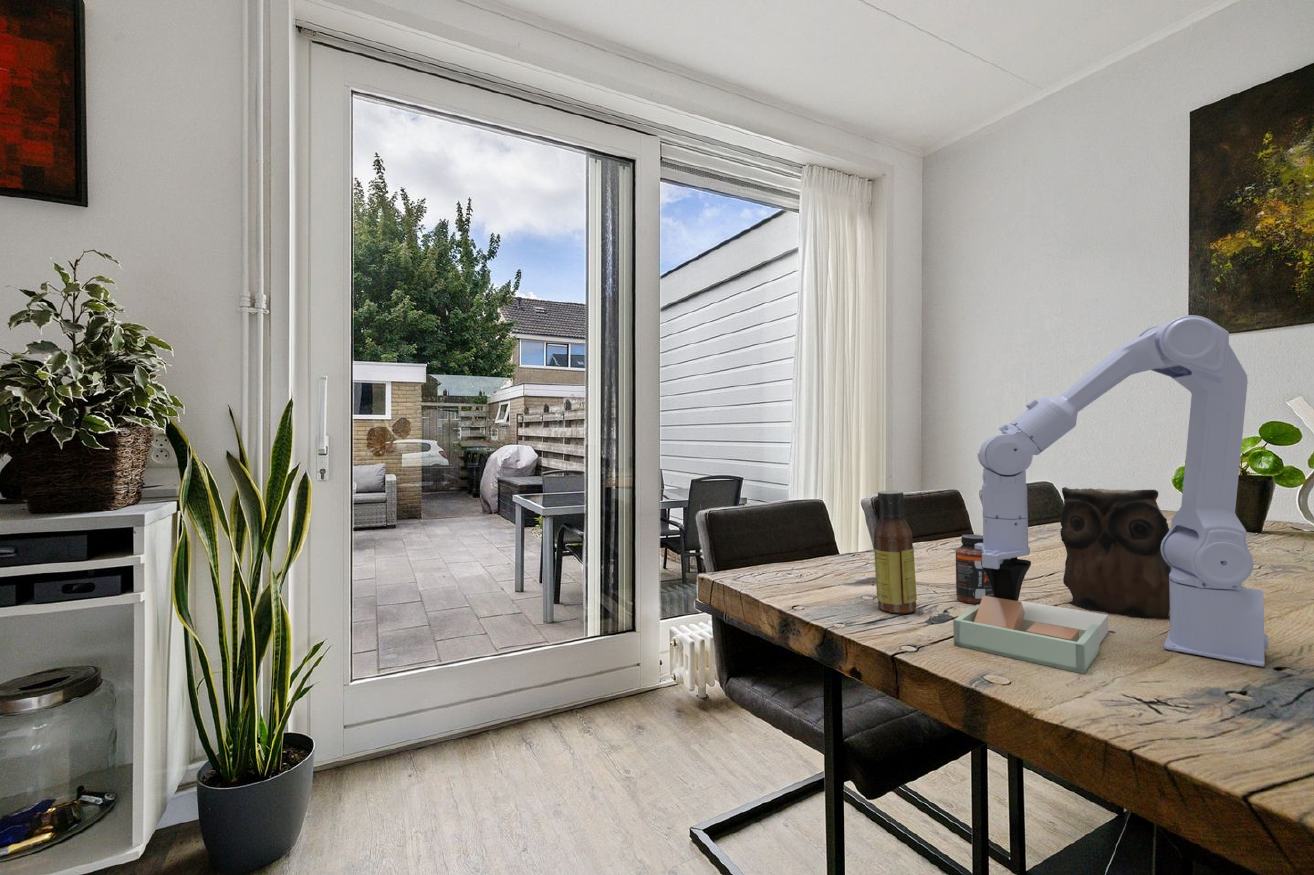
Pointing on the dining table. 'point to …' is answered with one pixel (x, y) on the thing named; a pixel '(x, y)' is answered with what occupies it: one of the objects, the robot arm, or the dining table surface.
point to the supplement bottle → (971, 572)
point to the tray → (1027, 643)
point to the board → (1063, 618)
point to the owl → (1115, 552)
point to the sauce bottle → (894, 556)
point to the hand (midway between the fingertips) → (1006, 609)
